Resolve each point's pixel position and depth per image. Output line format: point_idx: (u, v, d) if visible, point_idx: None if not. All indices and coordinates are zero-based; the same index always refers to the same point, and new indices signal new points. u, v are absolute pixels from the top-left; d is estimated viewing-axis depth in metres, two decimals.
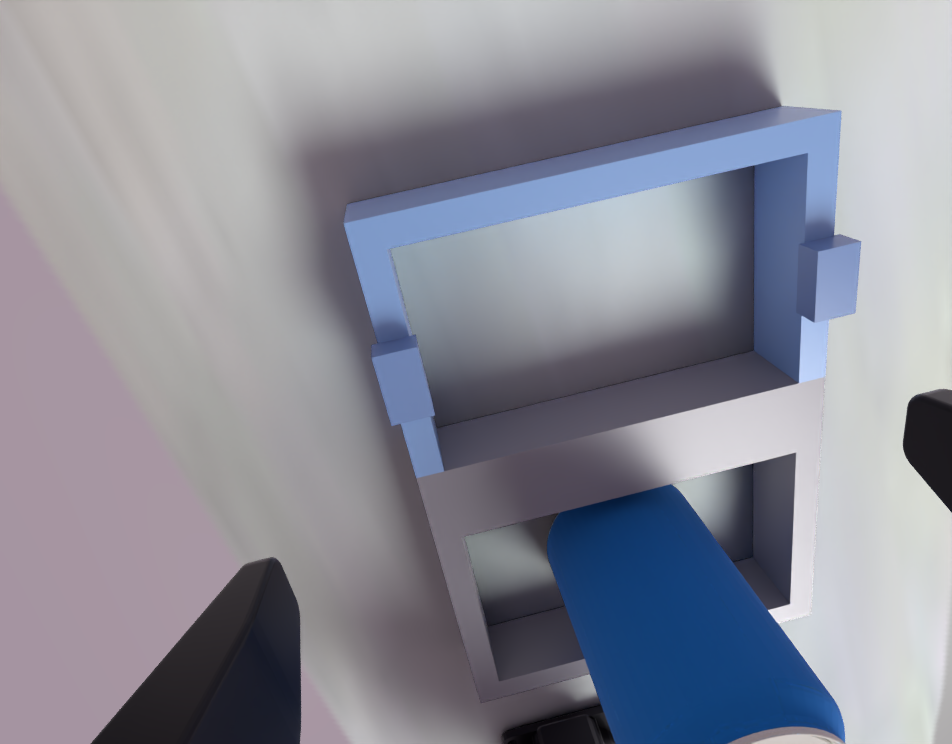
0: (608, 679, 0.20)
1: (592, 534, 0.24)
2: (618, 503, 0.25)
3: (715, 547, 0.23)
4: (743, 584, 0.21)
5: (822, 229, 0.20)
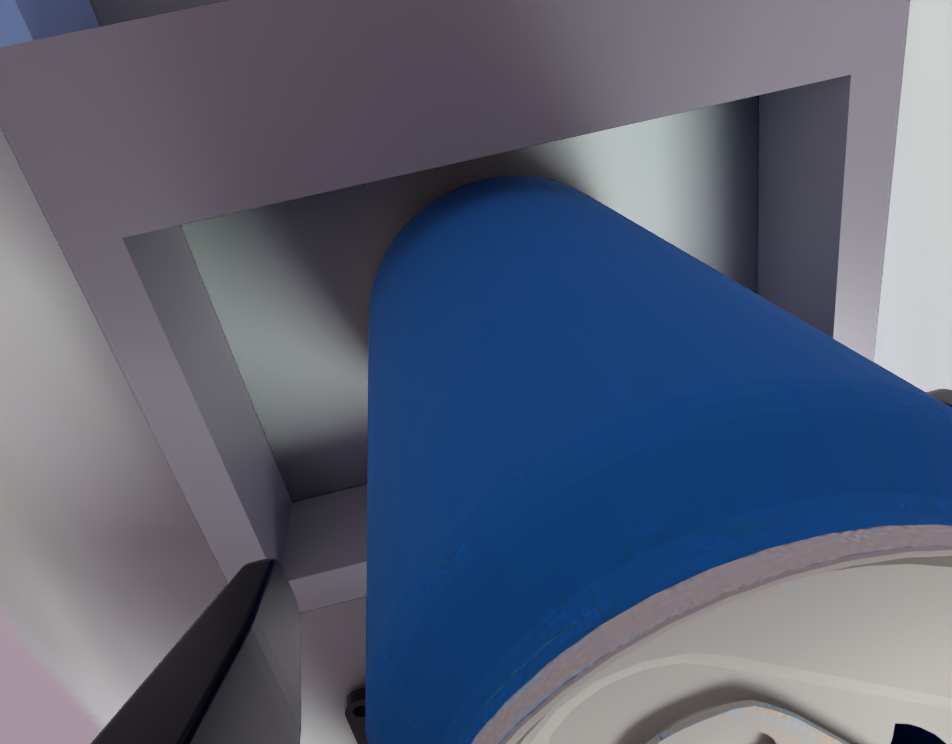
0: (371, 491, 0.07)
1: (418, 248, 0.11)
2: (479, 197, 0.12)
3: None
4: None
5: None
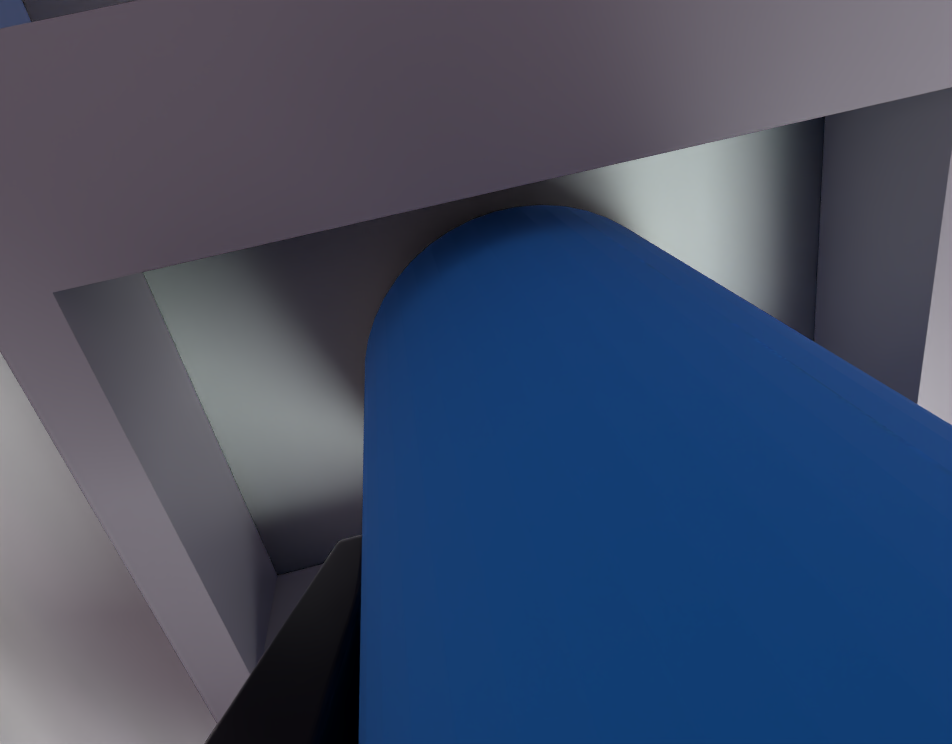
0: (364, 688, 0.05)
1: (425, 301, 0.09)
2: (500, 236, 0.10)
3: None
4: None
5: None
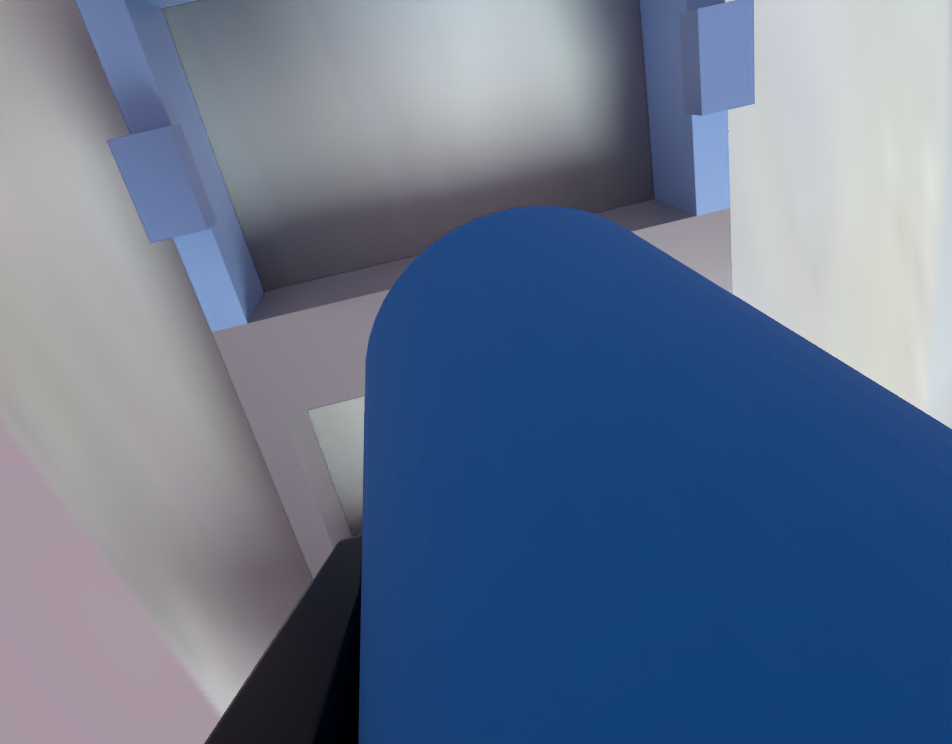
0: (365, 687, 0.05)
1: (426, 302, 0.09)
2: (500, 238, 0.10)
3: None
4: None
5: None
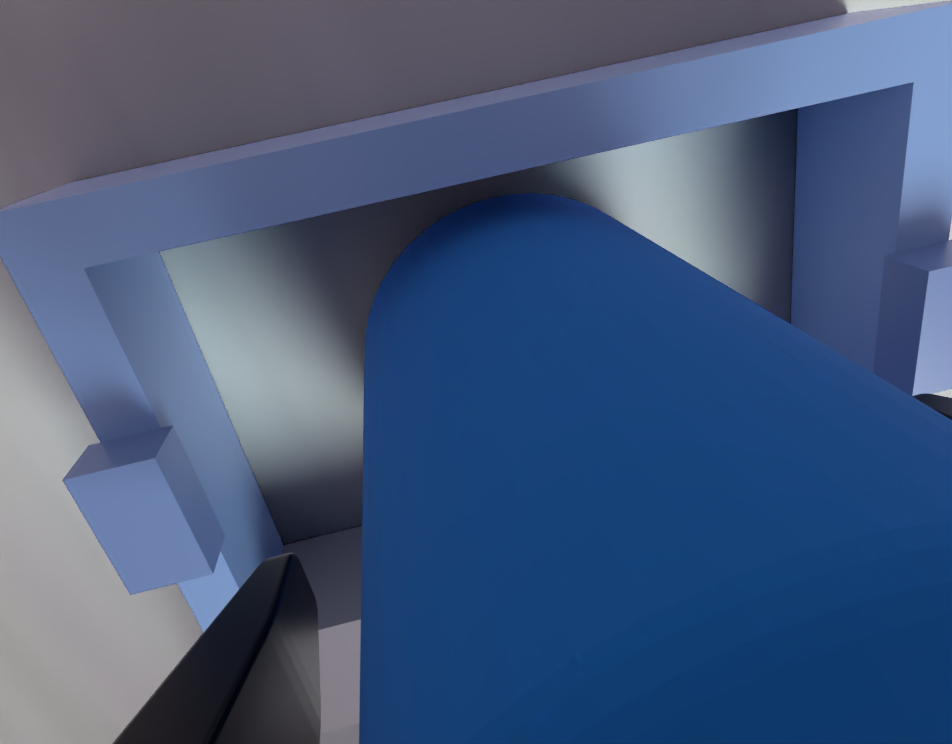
0: (365, 594, 0.06)
1: (421, 278, 0.10)
2: (490, 220, 0.11)
3: None
4: None
5: (929, 229, 0.11)
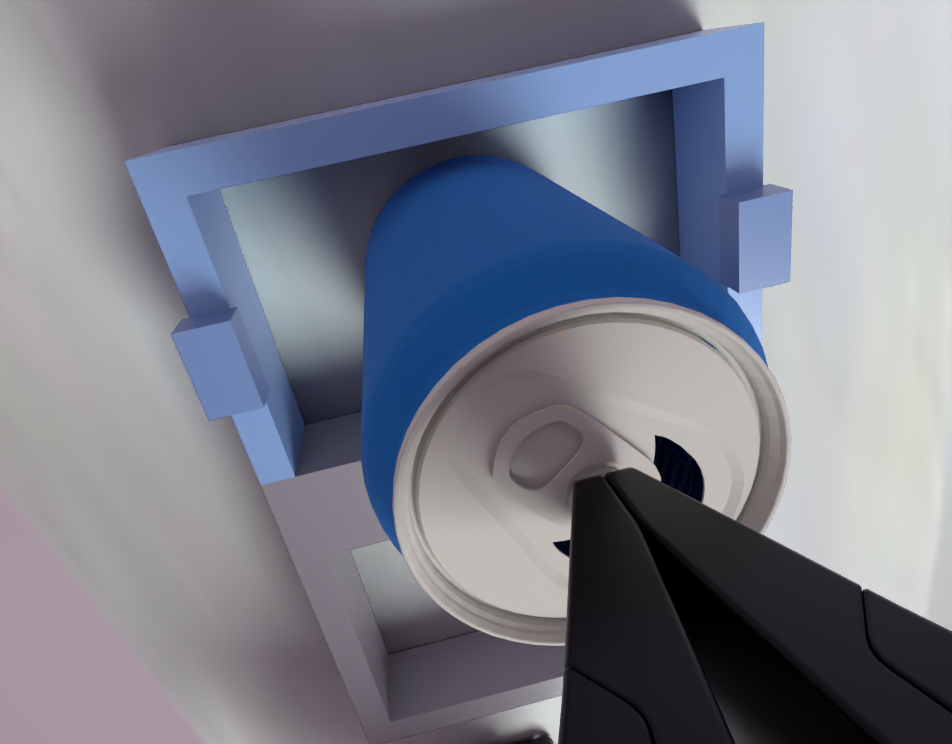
0: (365, 348, 0.11)
1: (402, 205, 0.15)
2: (449, 169, 0.16)
3: None
4: None
5: (747, 177, 0.16)
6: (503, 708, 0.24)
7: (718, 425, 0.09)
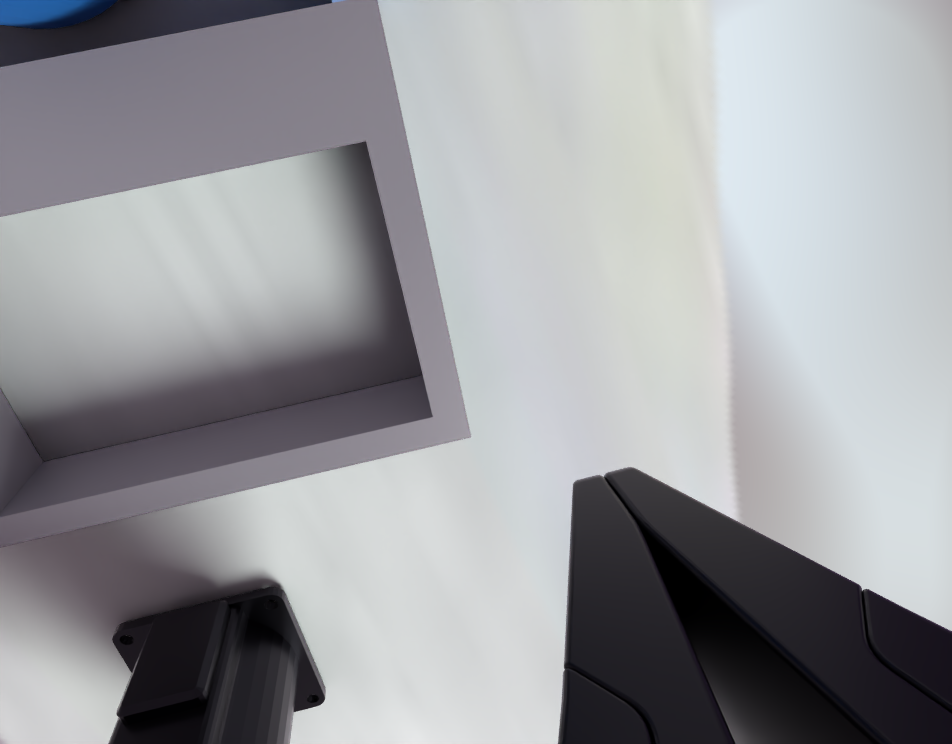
0: None
1: None
2: None
3: None
4: None
5: None
6: (147, 508, 0.19)
7: None
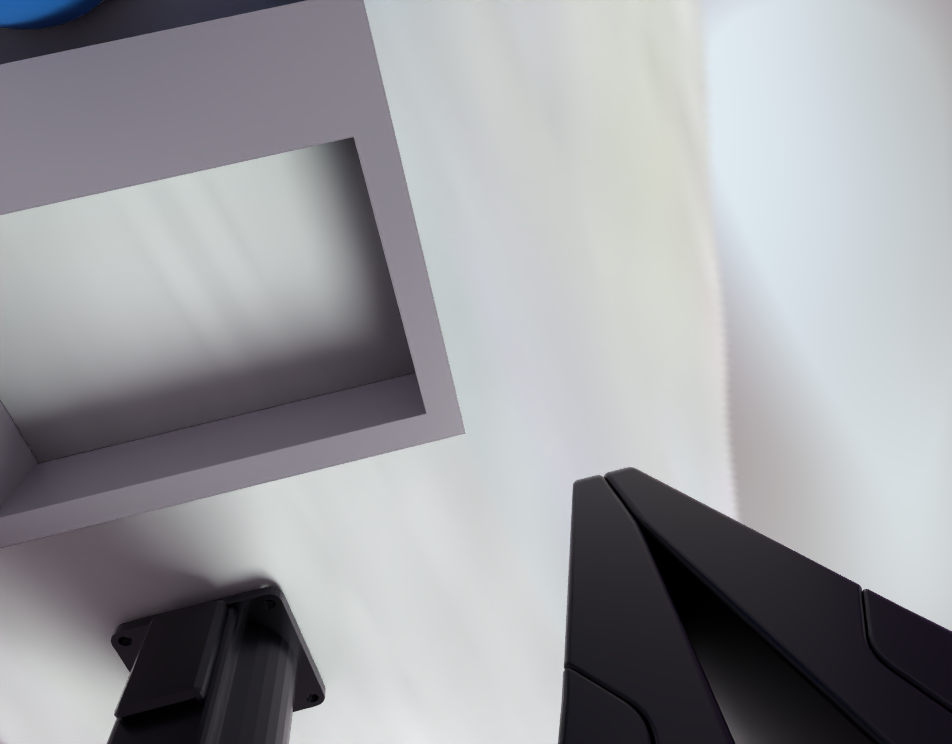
0: None
1: None
2: None
3: None
4: None
5: None
6: (142, 508, 0.19)
7: None
